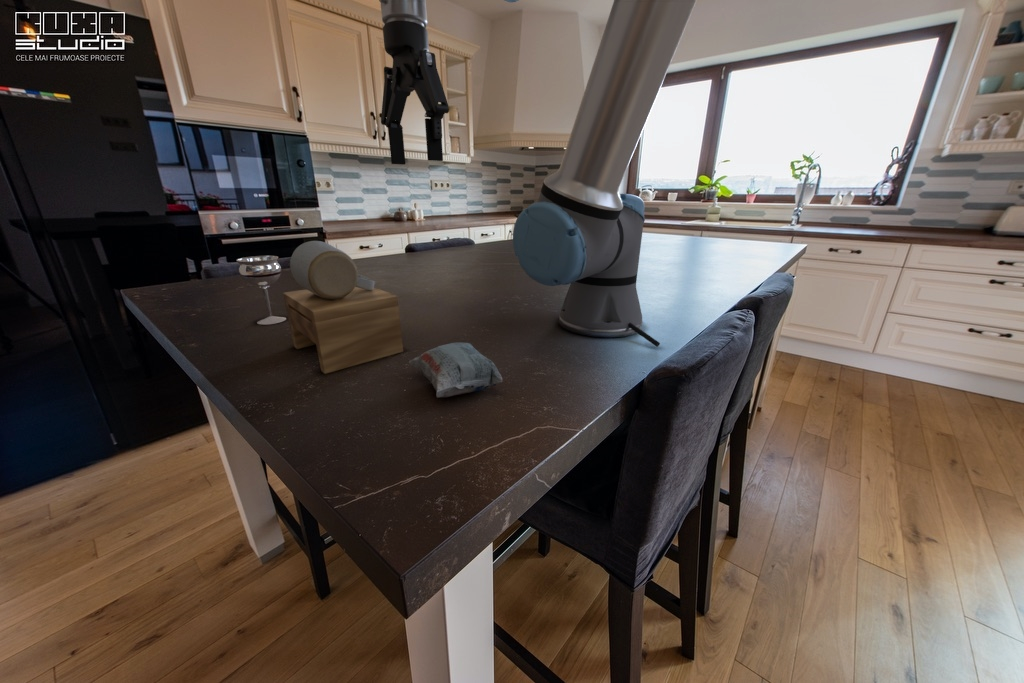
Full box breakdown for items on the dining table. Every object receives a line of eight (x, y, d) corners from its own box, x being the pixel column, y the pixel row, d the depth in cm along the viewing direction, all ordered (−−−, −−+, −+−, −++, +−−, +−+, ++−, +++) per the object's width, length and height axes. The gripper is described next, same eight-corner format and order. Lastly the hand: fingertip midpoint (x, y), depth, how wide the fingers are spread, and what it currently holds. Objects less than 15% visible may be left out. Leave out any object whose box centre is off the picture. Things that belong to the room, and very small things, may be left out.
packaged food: (437, 414, 45) (435, 374, 43) (409, 374, 54) (406, 340, 53) (505, 397, 49) (505, 360, 47) (467, 363, 58) (467, 331, 57)
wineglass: (268, 314, 81) (254, 255, 76) (298, 316, 80) (286, 256, 75) (242, 325, 74) (226, 261, 70) (275, 326, 73) (261, 262, 69)
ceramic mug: (312, 305, 54) (303, 247, 51) (294, 294, 59) (284, 242, 57) (385, 293, 61) (380, 242, 58) (362, 285, 66) (357, 238, 64)
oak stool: (403, 351, 62) (397, 296, 59) (324, 374, 55) (313, 311, 51) (365, 330, 72) (358, 281, 69) (294, 346, 64) (282, 292, 61)
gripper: (353, 40, 74) (368, 164, 81) (424, -5, 57) (434, 157, 64) (391, 49, 78) (401, 166, 86) (466, 10, 61) (471, 160, 69)
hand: (415, 162), depth 75 cm, fingers open, 13 cm apart
